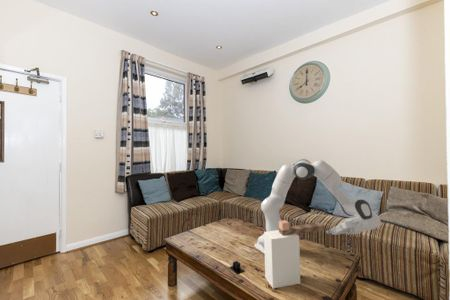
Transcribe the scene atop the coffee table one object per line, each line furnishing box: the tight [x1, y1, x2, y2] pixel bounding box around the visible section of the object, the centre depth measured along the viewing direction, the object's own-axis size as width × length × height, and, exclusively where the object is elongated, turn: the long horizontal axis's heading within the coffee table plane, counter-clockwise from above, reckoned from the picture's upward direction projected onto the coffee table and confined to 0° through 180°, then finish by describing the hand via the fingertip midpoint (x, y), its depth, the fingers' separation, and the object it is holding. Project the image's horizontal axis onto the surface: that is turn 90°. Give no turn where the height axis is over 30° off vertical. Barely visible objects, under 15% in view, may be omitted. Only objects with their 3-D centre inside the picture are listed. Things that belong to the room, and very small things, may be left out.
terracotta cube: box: [279, 219, 290, 231], centre depth 117 cm, size 4×4×4 cm
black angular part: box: [228, 260, 245, 276], centre depth 129 cm, size 12×7×5 cm, turn 32°
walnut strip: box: [279, 222, 325, 236], centre depth 119 cm, size 26×4×2 cm, turn 103°
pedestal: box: [263, 230, 301, 289], centre depth 117 cm, size 16×10×26 cm, turn 102°
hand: (329, 230), depth 125 cm, fingers open, 8 cm apart
